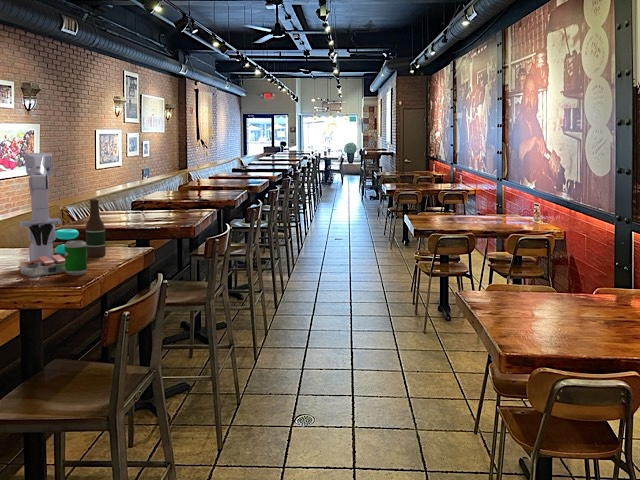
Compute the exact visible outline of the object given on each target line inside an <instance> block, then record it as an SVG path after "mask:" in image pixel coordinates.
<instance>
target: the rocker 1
mask: <svg viewBox="0 0 640 480" xmlns="http://www.w3.org/2000/svg"><path fill="white" fill-rule="evenodd" d="M38 262H41V261H40V260H32V261H30V260H28V261H26V262H24V265H27V264H34V263H38Z"/></svg>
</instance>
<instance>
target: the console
mask: <svg viewBox="0 0 640 480" xmlns="http://www.w3.org/2000/svg"><path fill="white" fill-rule="evenodd" d="M53 262H54V264H51V265H45V264H43V263H34V264H27V265H25V264H21V265H19V266H20V268H19V269H20V274H22V275H25V276H27V277H31V278H34V277H40V276H42V277H43V276H48V275H54V274H56V275H57V274H63V273H66V270H65V263H57V262H56V261H55V260H53ZM62 272H63V273H62Z"/></svg>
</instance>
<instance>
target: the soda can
mask: <svg viewBox="0 0 640 480" xmlns="http://www.w3.org/2000/svg"><path fill="white" fill-rule="evenodd" d="M64 247H65V254H64V259H65V270H66V272H65V273H67V274H68V276H82V275H85V274H86V273H87V271H88V259H87V258H88V256H87V252H86V241H85V242H84V240H80V239H79V240H77V239H76V240H73V239H72V240H68V241H66V242H65V243H64Z"/></svg>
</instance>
